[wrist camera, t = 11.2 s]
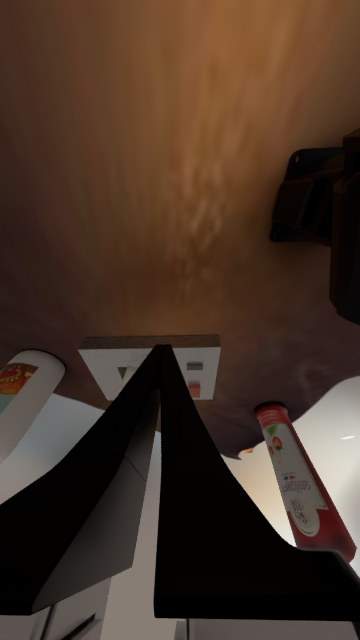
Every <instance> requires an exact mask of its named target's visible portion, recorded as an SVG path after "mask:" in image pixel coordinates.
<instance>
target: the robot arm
mask: <svg viewBox="0 0 360 640" xmlns="http://www.w3.org/2000/svg"><path fill="white" fill-rule="evenodd" d="M298 155H299V156H300V160H299V162H298V163H297V162H296V157H297V156H298ZM273 220H274V222H273V226H272V230H271V234H270V240H271V241H272V242H301V241H313V242H316V243H319V244H322V245H324V246H327V247H330V248H331V261H330V288H329V299H330V300H331V302H332V304H333V305H334V307H335V308H336V309H337V314H338V315H340V316H341V317H343V318H345V319H346V320H348V321H350V322H353V323H355V324H358V325H360V128H359V129H357V130H355V131H353V132H352V133H350V134H348V135H346V136H345V137H343V147H331V148H312V149H301V150H298V151H296V152H294V153H293V155H292V156H291V158H290V162H289V165H288V169H287V173H286V177H285V180H284V183H283V184H282V185H281V187H280V191H279V195H278V199H277V202H276V206H275V210H274V214H273ZM276 234H278V236H277V238H275V239H274V236H275V235H276ZM160 401H161V454H162V457H161V461H162V462H161V487H160V504H159V520H158V537H157V552H156V569H155V585H154V586H155V587H154V615H155V618H181V619H185V620H186V621H185V622H180V621H177V624H176V630H175V637H174V640H360V578H359V576H358V575H357V574H356V572H355V571H354V570H353V568H352V567H351V566H350V564H349V563H348V562H347V560H346V559H345V558H344V556H343V555H342V554H341V553H340V552H339V551H337V550H331V549H317V548H304V547H294V546H292V545H290V544H289V543H288V542H286V541H285V540H284V539H283V538H282V537H281V536H280V535H279V534H278V533H277V532H276V531H275V529H274V528H273V527H272V525H271V524H270V523H269V522H268V520H267V519H266V518H265V516H264V515H263V514H262V513H261V511H260V510H259V508H258V507H257V506H256V504H255V503H254V502H253V501H252V499H251V498H250V497H249V495H248V494H247V493H246V491H245V490H244V489H243V487H242V486H241V485H240V484H239V482H238V481H237V480H236V478H235V477H234V476H233V474H232V473H231V471H230V470H229V468H228V467H227V465H226V463H225V462H224V460H223V458H222V457H221V455H220V453H219V451H218V449H217V448H216V446H215V444H214V442H213V440H212V438H211V437H210V435H209V433H208V431H207V429H206V427H205V426H204V424H203V422H202V420H201V418H200V416H199V414H198V411H197V409H196V407H195V404H194V402H193V399H192V397H191V396H190V392H189V389H188V387H187V384H186V382H185V379H184V377H183V374H182V372H181V369H180V366H179V364H178V361H177V359H176V356H175V354H174V351H173V349H172V346H171V344H164V345H163V344H156V345H155V346H154V347H153V349H152V350H151V351H150V353H149V354H148V355H147V357H146V358H145V359H144V361H143V362H142V363H141V365H140V366H139V367H138V369H137V370H136V371H135V373H134V374H133V375H132V377H131V378H130V379H129V381H128V382H127V383H126V385H125V386H124V387H123V389H122V390H121V391H120V393H119V394H118V396H117V397H116V398H115V399H114V401H113V402H112V403H111V405H110V406H109V407H108V408H107V410H106V411H105V412H104V413H103V415H102V416H101V417H100V418H99V419H98V421H97V422H96V423H95V424H94V425H93V426H92V427H91V428H90V429H89V431H88V432H87V433H86V434H85V435H84V436H83V437H82V438H81V439H80V440H79V442H78V443H77V444H76V445H75V446H74V447H73V448H72V449H71V450H70V452H69V453H68V454H67V455H66V456H65V457H64V458H63V459H62V460H61V461H60V462H59V463H58V464H57V465H56V466H55V467H53V468H52V469H51V470H50V471H49V472H47V473H46V474H45V475H43V476H42V477H40V478H39V479H37V480H36V481H34V482H33V483H31V484H30V485H28V486H27V487H26V488H24V489H23V490H21V491H20V492H18V493H17V494H15V495H14V496H12V497H11V498H9V499H8V500H7V501H5V502H4V503H2V504H1V505H0V640H100V636H101V631H102V625H103V620H104V615H105V609H106V604H107V599H108V593H109V588H110V582H111V577H112V576H114V575H116V574H118V573H120V572H122V571H124V570H126V569H129V568H130V567H132V564H133V558H134V553H135V547H136V541H137V535H138V529H139V524H140V518H141V512H142V506H143V500H144V495H145V489H146V482H147V477H148V471H149V465H150V459H151V454H152V448H153V442H154V436H155V430H156V424H157V419H158V413H159V407H160Z"/></svg>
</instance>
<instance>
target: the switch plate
mask: <svg viewBox="0 0 360 640" xmlns="http://www.w3.org/2000/svg"><path fill="white" fill-rule="evenodd" d="M156 344H163V345H164V344H171V346H172V349H173V351H174V354H175V356H176V359H177V361H178V364H179V366H180V369H181V372H182V374H183V377H184V379H185V382H186V384H187V387H188V389H189V392H190V396H191V397H192V399H213V393H214V387H215V381H216V375H217V369H218V362H219V356H220V350H221V346H220V342H219V338H218V335H190V336H139V337H87V338H85V340H84V341H83V343H82V344H81V346H80V347H79V349H78V351H79V353H80V354H81V356H82V358H83V359H84V361H85V363H86V364H87V366H88V368H89V369H90V371H91V373H92V375H93V376H94V378H95V380H96V381H97V383H98V385H99V386H100V388H101V390H102V391H103V393H104V395H105V396H106V398H107V400H114V399H115V398H116V397H117V396H118V394H119V393H120V388H121V385H122V382H123V379H124V376H125V373H126V369H127V368H126V367H139V366H140V365H141V363H142V362H143V361H144V359H145V358H146V357H147V355H148V354H149V353H150V351H151V350H152V349H153V347H154V346H155V345H156Z"/></svg>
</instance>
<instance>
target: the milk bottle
mask: <svg viewBox="0 0 360 640" xmlns="http://www.w3.org/2000/svg"><path fill="white" fill-rule="evenodd" d="M64 373H65V367H64V365H63V363H62V362H61V361H60V360H58V359H57V358H56V357H54V356H52V355H50V354H48V353H45V352H42V351H37V350H26V351H23V352H21V353H19V354H17V355H16V356H15V357H14V358H13V359H12V360H11V361H10V362H9V363H8V364H7V365H6V366H5V367H3V368H2V369H1V370H0V464H1V463H2V462H3V461H4V460H5V459H6V458H7V457H8V456H9V455H10V453H11V452H12V451H13V450H14V448H15V447H16V446H17V444H18V443H19V441H20V440H21V439H22V437H23V436H24V434H25V433H26V431H27V430H28V429H29V427H30V425H31V424H32V423H33V421H34V419H35V418H36V417H37V415H38V413H39V412H40V411H41V409H42V408H43V406H44V405H45V403H46V402H47V400H48V399H49V397H50V395H51V394H52V392H53V391H54V389H55V388H56V386H57V385H58V383H59V382H60V380H61V379H62V377H63V375H64Z"/></svg>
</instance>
